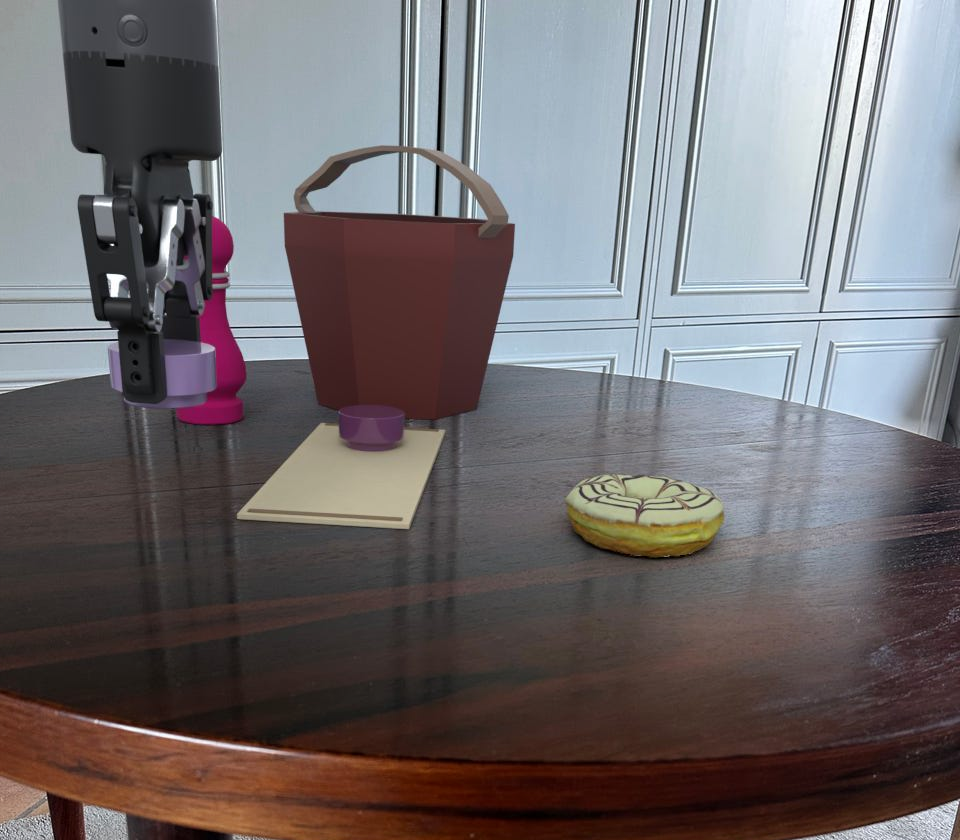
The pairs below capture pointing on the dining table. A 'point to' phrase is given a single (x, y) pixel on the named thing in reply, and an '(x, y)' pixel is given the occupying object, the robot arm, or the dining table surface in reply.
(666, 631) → the dining table surface
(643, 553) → the decorated donut
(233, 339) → the pepper mill
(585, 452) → the dining table surface
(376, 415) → the plum dish
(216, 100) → the robot arm
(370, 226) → the bucket
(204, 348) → the lilac dish
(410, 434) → the placemat
